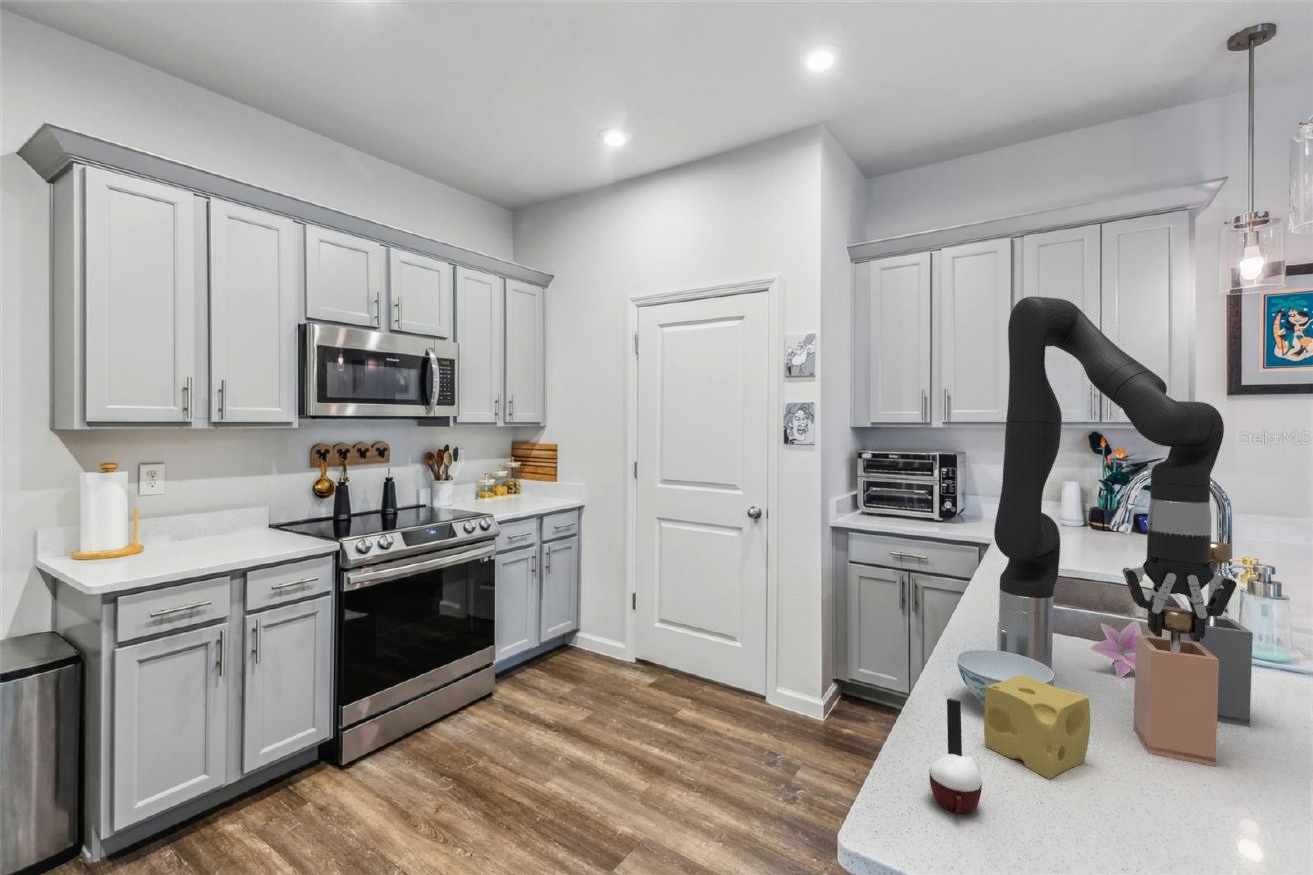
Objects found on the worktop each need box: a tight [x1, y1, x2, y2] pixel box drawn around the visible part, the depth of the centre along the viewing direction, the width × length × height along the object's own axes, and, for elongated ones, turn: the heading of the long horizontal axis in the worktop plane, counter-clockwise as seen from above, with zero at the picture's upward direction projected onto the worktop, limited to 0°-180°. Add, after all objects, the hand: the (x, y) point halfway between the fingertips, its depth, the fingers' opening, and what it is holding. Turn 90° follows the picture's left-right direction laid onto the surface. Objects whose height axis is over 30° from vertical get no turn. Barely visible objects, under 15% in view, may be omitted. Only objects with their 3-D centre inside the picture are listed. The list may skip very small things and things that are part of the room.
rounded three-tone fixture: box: [928, 697, 983, 814], centre depth 80 cm, size 10×6×12 cm, turn 136°
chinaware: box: [956, 648, 1055, 709], centre depth 107 cm, size 15×15×8 cm
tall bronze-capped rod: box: [1207, 541, 1231, 627], centre depth 106 cm, size 5×5×16 cm
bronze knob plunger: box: [1160, 605, 1193, 653], centre depth 94 cm, size 5×5×16 cm
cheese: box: [983, 675, 1091, 780], centre depth 92 cm, size 10×11×10 cm
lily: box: [1090, 620, 1143, 679], centre depth 123 cm, size 12×12×10 cm
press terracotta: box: [1133, 634, 1219, 767], centre depth 94 cm, size 8×8×16 cm
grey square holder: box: [1180, 616, 1253, 728], centre depth 106 cm, size 8×8×16 cm
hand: (1175, 637), depth 94 cm, fingers closed on bronze knob plunger, 4 cm apart
